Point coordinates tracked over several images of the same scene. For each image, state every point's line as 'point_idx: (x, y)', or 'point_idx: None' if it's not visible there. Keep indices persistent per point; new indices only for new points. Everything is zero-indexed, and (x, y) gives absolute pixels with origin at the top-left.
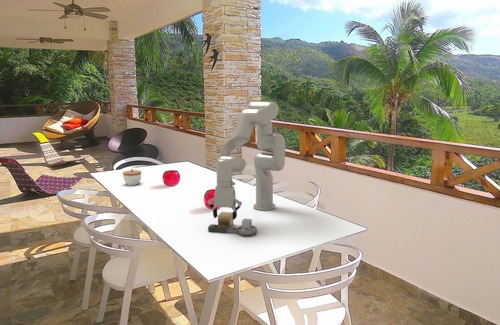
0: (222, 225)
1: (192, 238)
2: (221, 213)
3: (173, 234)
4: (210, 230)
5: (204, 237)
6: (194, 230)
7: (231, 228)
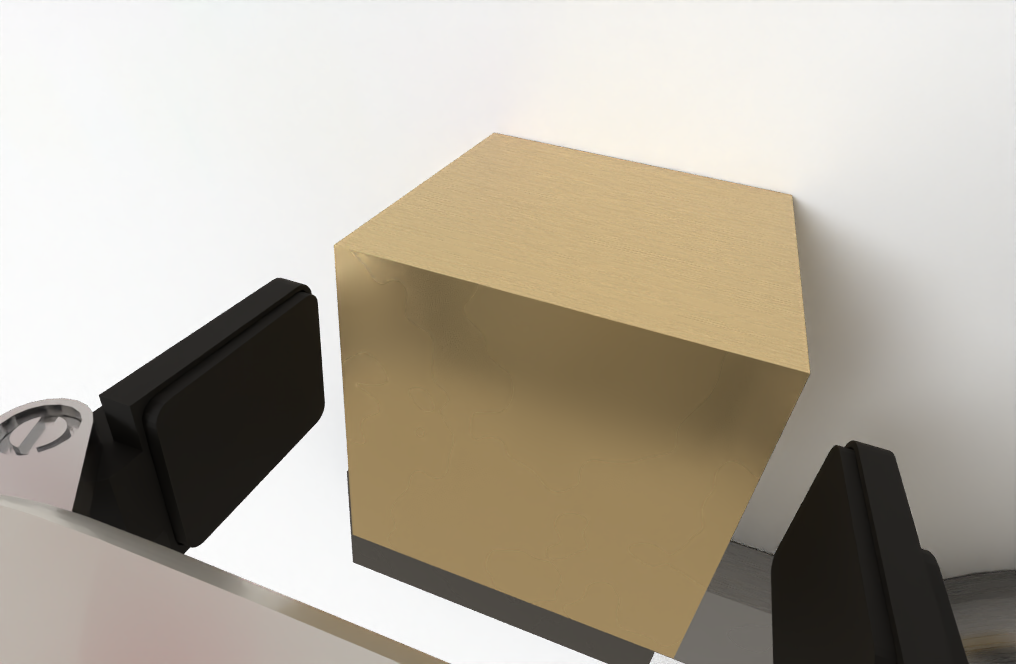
0: None
1: None
2: (386, 406)
3: None
4: None
5: (412, 631)
6: None
7: (738, 648)
